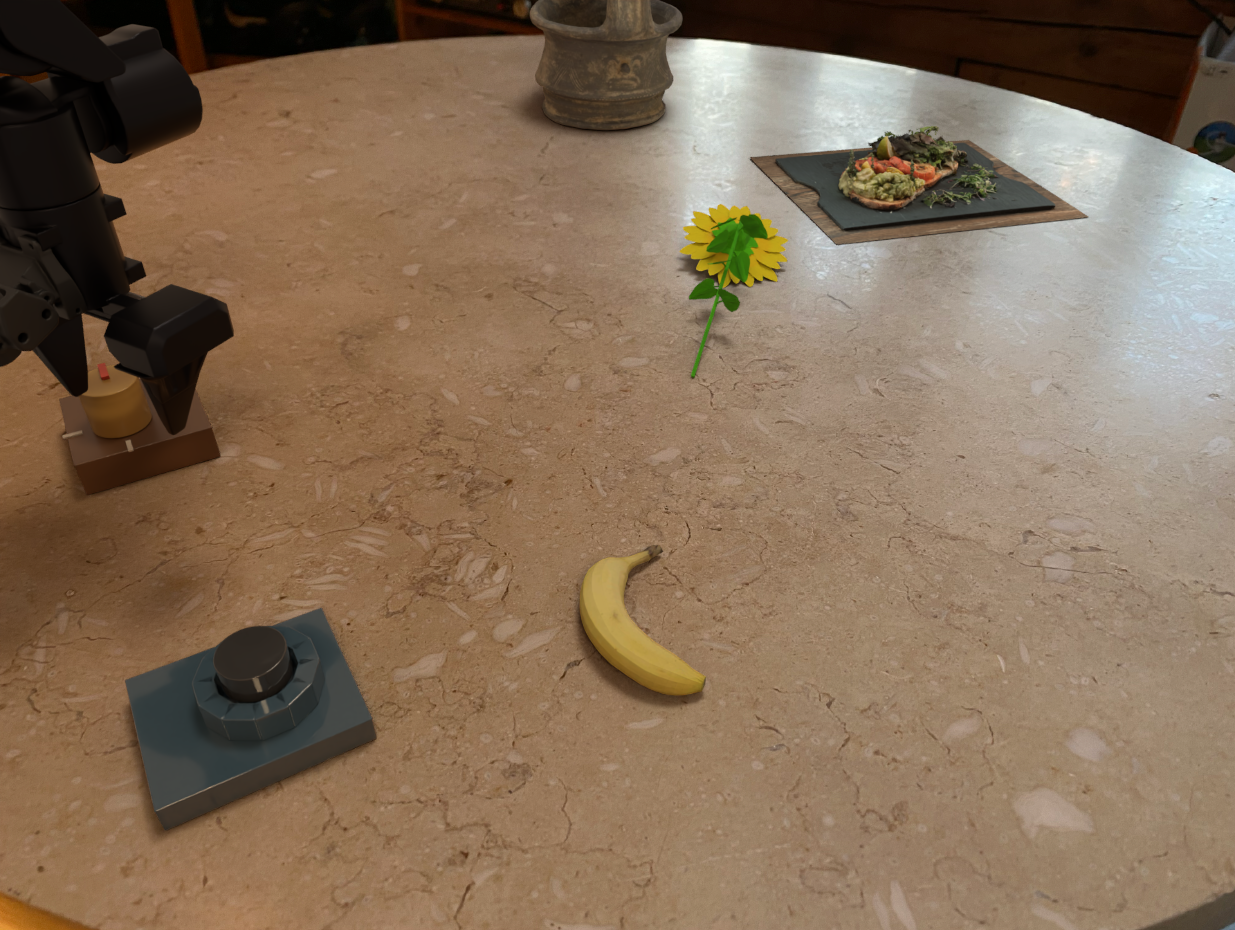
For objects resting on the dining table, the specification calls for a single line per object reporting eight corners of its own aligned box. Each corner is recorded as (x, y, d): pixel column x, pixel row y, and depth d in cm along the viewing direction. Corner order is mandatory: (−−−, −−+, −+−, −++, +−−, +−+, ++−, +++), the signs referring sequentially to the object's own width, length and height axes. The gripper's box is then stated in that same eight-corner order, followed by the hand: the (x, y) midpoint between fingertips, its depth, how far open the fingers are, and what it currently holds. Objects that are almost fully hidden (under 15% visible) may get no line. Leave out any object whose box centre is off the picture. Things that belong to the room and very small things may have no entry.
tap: (156, 428, 74) (140, 383, 71) (96, 445, 72) (77, 399, 70) (146, 400, 77) (130, 355, 74) (88, 415, 75) (69, 370, 72)
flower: (741, 430, 91) (796, 224, 107) (766, 378, 84) (821, 166, 100) (623, 392, 92) (695, 192, 107) (637, 337, 84) (712, 131, 100)
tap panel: (83, 499, 72) (68, 467, 70) (67, 428, 79) (53, 397, 77) (221, 458, 76) (212, 427, 74) (195, 395, 83) (185, 364, 81)
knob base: (164, 831, 51) (142, 790, 48) (134, 700, 58) (113, 658, 55) (377, 738, 56) (367, 696, 53) (326, 627, 63) (316, 585, 60)
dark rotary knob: (230, 713, 53) (221, 690, 51) (214, 664, 55) (205, 641, 54) (301, 685, 54) (294, 662, 53) (282, 638, 57) (275, 616, 56)
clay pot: (528, 136, 135) (519, -107, 116) (537, 85, 153) (530, -132, 134) (681, 138, 135) (697, -103, 116) (672, 87, 153) (684, -128, 134)
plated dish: (839, 246, 109) (850, 185, 104) (745, 161, 130) (751, 107, 125) (1091, 219, 117) (1112, 162, 113) (964, 143, 138) (977, 92, 134)
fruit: (660, 550, 69) (662, 519, 67) (718, 695, 59) (722, 664, 57) (562, 565, 68) (562, 534, 66) (604, 716, 57) (605, 685, 56)
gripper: (-201, 207, 51) (-76, 435, 61) (31, 286, 45) (129, 527, 55) (-13, 144, 59) (71, 355, 69) (207, 204, 53) (265, 427, 63)
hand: (127, 412), depth 64 cm, fingers open, 9 cm apart
